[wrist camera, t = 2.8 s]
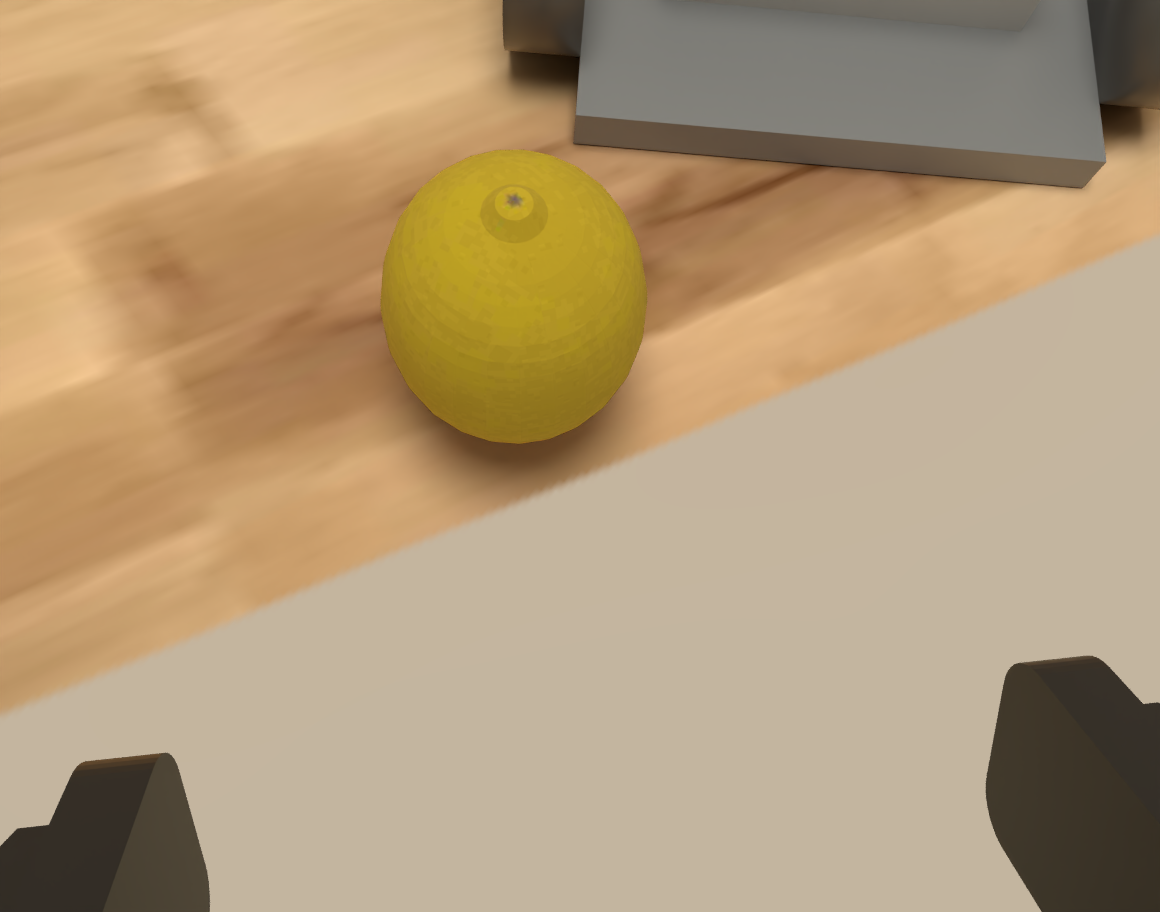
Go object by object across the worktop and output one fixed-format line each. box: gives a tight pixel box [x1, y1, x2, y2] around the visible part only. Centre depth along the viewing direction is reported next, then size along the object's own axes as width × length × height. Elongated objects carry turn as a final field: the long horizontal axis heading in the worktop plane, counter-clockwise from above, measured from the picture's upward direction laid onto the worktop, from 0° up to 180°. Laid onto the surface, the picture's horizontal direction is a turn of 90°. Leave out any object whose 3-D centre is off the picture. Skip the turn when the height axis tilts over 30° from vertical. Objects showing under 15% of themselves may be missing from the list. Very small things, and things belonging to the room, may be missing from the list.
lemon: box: [381, 150, 647, 444], centre depth 22 cm, size 6×6×8 cm
